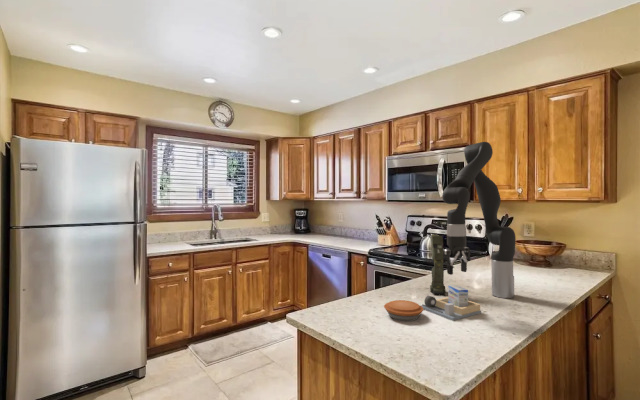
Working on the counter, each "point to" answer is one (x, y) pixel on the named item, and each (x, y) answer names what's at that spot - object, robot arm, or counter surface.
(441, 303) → the chassis
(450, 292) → the medicine box
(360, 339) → the counter surface
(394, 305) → the pie
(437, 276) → the mechanical leg
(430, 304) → the wheel
